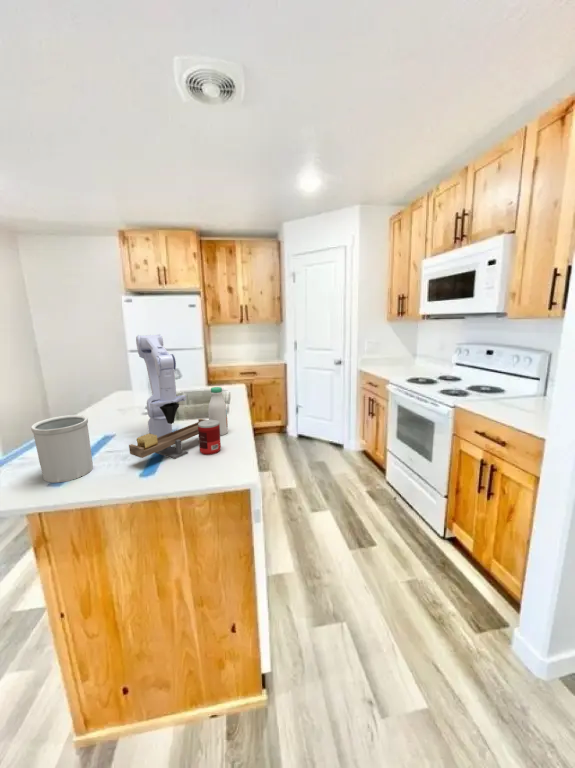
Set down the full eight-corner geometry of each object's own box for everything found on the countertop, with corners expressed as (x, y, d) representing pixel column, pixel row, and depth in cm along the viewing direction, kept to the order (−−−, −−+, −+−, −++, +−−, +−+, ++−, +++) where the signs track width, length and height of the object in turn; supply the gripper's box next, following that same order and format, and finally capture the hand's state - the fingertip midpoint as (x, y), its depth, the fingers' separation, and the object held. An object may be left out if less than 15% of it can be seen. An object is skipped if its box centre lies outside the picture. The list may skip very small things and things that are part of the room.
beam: (129, 453, 113) (128, 445, 112) (200, 425, 139) (199, 418, 138) (142, 458, 109) (141, 449, 108) (212, 428, 136) (211, 421, 135)
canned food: (223, 446, 129) (221, 419, 126) (217, 455, 121) (215, 426, 119) (204, 446, 129) (202, 419, 127) (196, 454, 122) (194, 426, 119)
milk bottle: (226, 436, 140) (223, 389, 136) (207, 436, 140) (204, 390, 136) (229, 430, 148) (227, 385, 144) (212, 430, 148) (209, 386, 144)
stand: (155, 452, 124) (153, 438, 123) (168, 447, 129) (167, 433, 128) (174, 459, 118) (173, 443, 117) (188, 453, 123) (186, 438, 122)
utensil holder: (62, 487, 99) (53, 431, 96) (29, 479, 104) (19, 426, 101) (104, 466, 113) (98, 417, 109) (73, 460, 118) (66, 413, 114)
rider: (137, 449, 113) (136, 438, 113) (150, 444, 118) (149, 433, 117) (145, 451, 111) (144, 440, 111) (158, 446, 116) (156, 435, 115)
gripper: (157, 392, 114) (161, 430, 117) (190, 385, 126) (193, 419, 129) (144, 390, 118) (148, 427, 120) (177, 383, 130) (180, 417, 133)
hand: (170, 423), depth 125 cm, fingers closed
